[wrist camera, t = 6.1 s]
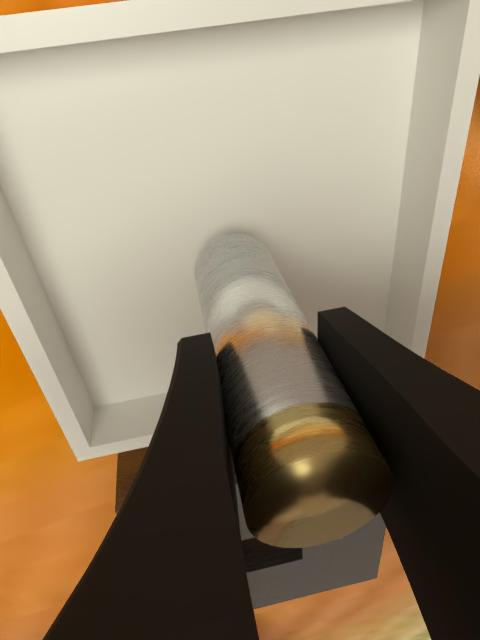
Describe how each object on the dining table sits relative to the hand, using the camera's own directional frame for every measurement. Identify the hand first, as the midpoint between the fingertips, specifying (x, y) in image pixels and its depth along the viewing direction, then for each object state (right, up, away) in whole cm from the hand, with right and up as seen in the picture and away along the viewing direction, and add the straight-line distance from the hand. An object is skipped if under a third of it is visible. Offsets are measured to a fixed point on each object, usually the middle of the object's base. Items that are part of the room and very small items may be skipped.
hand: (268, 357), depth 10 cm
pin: (-1, +2, +4) cm, 5 cm away
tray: (-1, +4, +5) cm, 6 cm away
